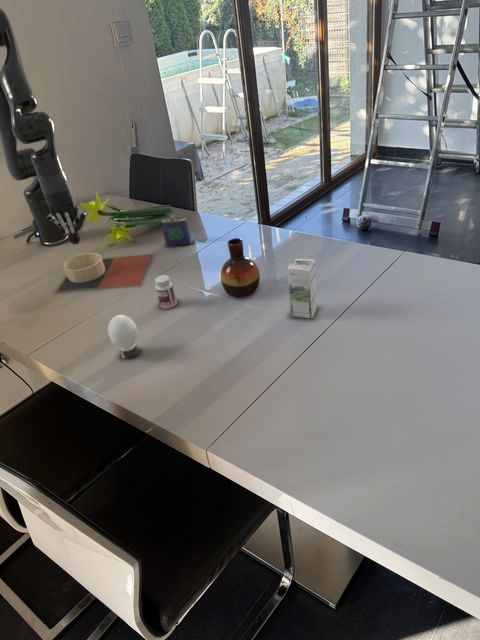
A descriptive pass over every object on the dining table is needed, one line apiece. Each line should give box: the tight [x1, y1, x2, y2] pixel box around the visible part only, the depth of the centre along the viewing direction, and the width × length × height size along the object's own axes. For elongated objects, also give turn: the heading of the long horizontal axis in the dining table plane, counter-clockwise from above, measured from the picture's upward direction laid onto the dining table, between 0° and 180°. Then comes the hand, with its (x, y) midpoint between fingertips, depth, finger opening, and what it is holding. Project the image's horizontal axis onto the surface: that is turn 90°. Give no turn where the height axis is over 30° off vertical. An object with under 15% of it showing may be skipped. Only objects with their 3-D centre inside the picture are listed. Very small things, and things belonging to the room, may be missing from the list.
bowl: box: [63, 252, 105, 283], centre depth 154 cm, size 12×12×4 cm
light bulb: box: [107, 314, 139, 359], centre depth 115 cm, size 7×7×11 cm
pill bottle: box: [154, 274, 178, 309], centre depth 133 cm, size 5×5×8 cm
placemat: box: [57, 254, 152, 292], centre depth 155 cm, size 26×20×1 cm
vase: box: [219, 237, 261, 299], centre depth 132 cm, size 11×11×15 cm
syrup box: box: [286, 258, 318, 320], centre depth 120 cm, size 6×6×14 cm
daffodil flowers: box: [79, 191, 173, 245], centre depth 173 cm, size 17×15×35 cm
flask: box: [160, 214, 193, 248], centre depth 164 cm, size 9×3×11 cm, turn 88°
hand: (76, 243), depth 149 cm, fingers closed
